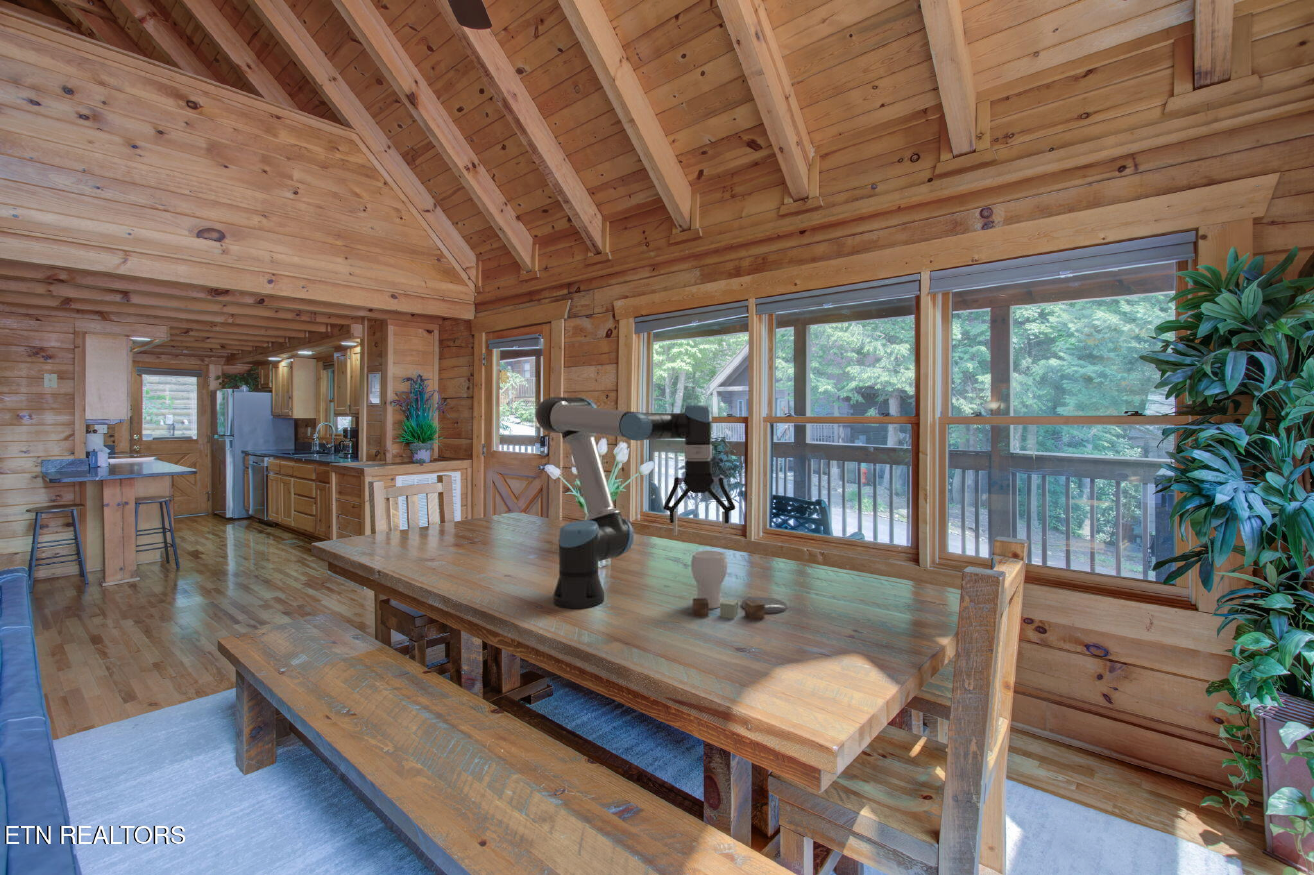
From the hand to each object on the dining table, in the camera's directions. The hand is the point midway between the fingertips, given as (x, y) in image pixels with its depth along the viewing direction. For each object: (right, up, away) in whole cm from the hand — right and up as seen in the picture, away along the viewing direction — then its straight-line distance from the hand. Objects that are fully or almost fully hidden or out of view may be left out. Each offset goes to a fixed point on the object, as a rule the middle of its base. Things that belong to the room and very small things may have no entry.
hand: (699, 534), depth 166 cm
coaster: (+19, -22, +6) cm, 30 cm away
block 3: (+15, -22, -3) cm, 27 cm away
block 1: (0, -22, -1) cm, 22 cm away
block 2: (+8, -22, -2) cm, 24 cm away
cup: (+3, -22, +7) cm, 23 cm away
